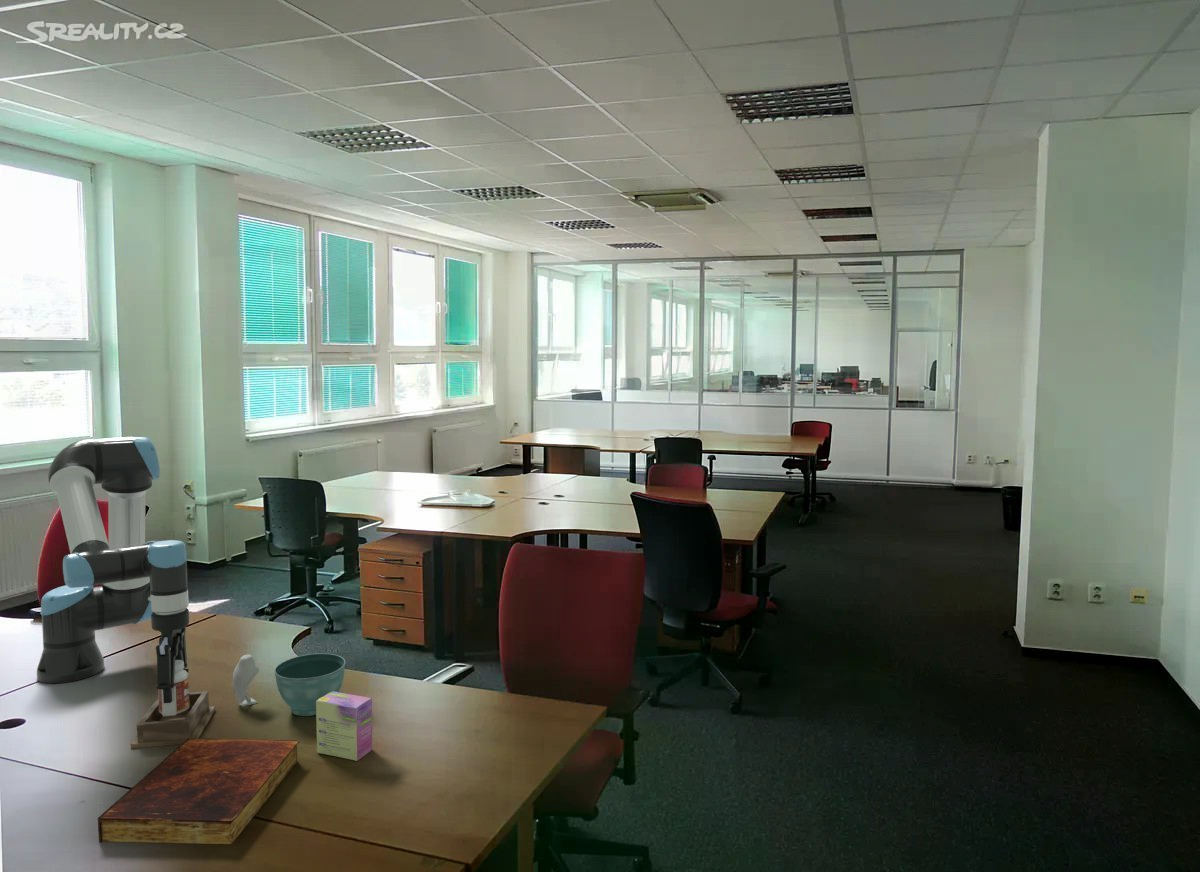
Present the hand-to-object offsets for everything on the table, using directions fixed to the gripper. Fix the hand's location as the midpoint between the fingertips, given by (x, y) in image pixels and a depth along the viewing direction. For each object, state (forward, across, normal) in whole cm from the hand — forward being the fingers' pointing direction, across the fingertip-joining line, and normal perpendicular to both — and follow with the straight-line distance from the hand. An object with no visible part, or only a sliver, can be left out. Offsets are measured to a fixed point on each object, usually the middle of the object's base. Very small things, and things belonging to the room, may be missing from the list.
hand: (174, 708), depth 183 cm
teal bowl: (+5, -5, +29) cm, 30 cm away
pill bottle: (+1, 0, 0) cm, 1 cm away
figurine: (+5, -11, +13) cm, 18 cm away
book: (+6, +33, +15) cm, 37 cm away
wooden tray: (+5, 0, 0) cm, 5 cm away
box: (+5, +19, +39) cm, 44 cm away
